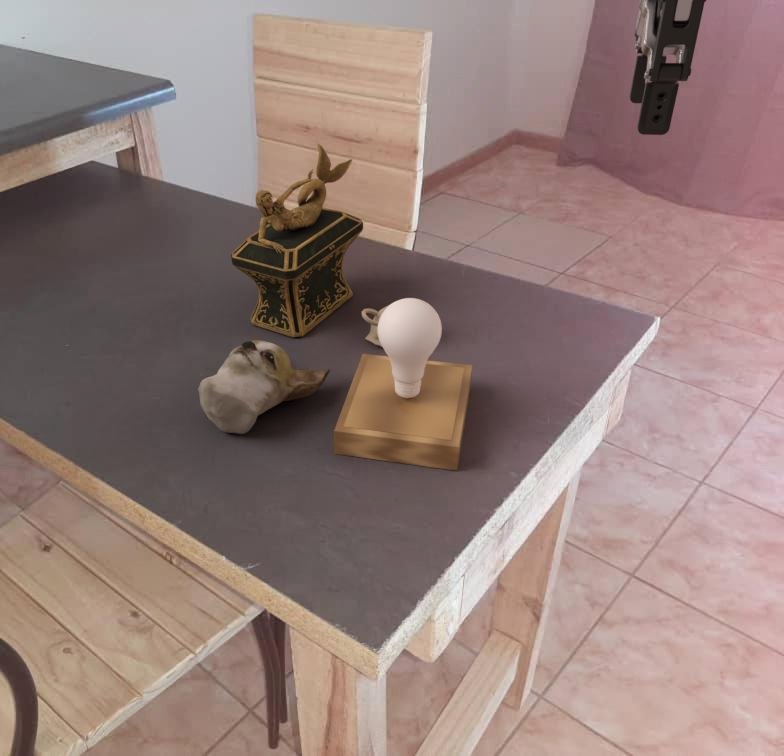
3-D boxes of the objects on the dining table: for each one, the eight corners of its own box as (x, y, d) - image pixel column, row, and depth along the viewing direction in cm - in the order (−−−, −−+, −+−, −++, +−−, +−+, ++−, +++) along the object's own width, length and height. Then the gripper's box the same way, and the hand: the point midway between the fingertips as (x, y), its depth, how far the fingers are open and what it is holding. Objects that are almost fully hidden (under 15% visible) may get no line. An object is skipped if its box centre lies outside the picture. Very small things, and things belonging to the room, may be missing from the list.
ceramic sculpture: (164, 355, 78) (256, 300, 88) (172, 426, 82) (259, 365, 92) (247, 389, 72) (335, 325, 82) (251, 462, 77) (334, 393, 87)
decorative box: (297, 349, 94) (287, 192, 82) (235, 328, 98) (217, 178, 87) (380, 280, 106) (381, 137, 95) (321, 265, 111) (316, 127, 100)
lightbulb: (365, 400, 79) (364, 306, 73) (398, 372, 83) (400, 280, 76) (416, 422, 76) (420, 325, 69) (449, 392, 79) (455, 297, 73)
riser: (470, 387, 85) (472, 364, 83) (457, 471, 74) (459, 446, 72) (362, 375, 88) (362, 353, 86) (334, 454, 77) (333, 430, 75)
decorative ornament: (430, 342, 93) (433, 303, 90) (366, 357, 91) (366, 318, 88) (415, 326, 96) (417, 287, 93) (353, 340, 94) (352, 302, 91)
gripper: (777, -117, 47) (711, 147, 56) (736, -129, 58) (686, 93, 68) (644, -109, 49) (601, 144, 58) (629, -123, 60) (594, 92, 70)
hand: (647, 116), depth 63 cm, fingers open, 8 cm apart
